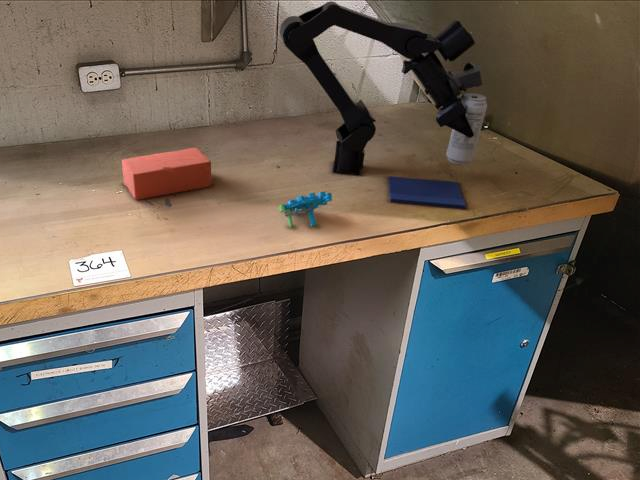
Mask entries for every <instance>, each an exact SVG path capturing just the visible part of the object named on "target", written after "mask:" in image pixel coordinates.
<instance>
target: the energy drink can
mask: <svg viewBox="0 0 640 480" xmlns="http://www.w3.org/2000/svg"><path fill="white" fill-rule="evenodd" d="M465 93H466V92H465ZM463 94H464V93H463ZM462 99H463V101H464V102H465V104H466V105H468V109H467V112H466V117H467V119H468V121H469V124H470V126H471V128H472V130H473V133H474V136H473V137H471V138H469V137H467V136H465V135H463V134H461V133H460V132H458V131H456V130H454V129H452V128H451V133H450V138H449V142H448V145H447V149H446V153H445V154H446V157H447V160H448V162H450V163H452V164H456V165H468V164H469V163H470V162H471V161H473V159H474V156H475V152H476V148H477V145H478V141H479V137H480V134H481V130H482V126H483V122H484V119H485V116H486V112H487V108H488V103H487V96H486V95H484V94H481V93H477V92H468V93H466V94H464V97H463V98H462Z"/></svg>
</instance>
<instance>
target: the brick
mask: <svg viewBox="0 0 640 480" xmlns="http://www.w3.org/2000/svg"><path fill="white" fill-rule="evenodd" d="M121 165H122V166H121V168H122V177H123V178H122V179H123V185H124V186H126V188H127V189H128V191H129V193H130V194H131V195H132V197H133V198H134V199H135V200H136V201H138V200H143V199H148V198H154V197H159V196H166V195H171V194H175V193H180V192H186V191H192V190H197V189H203V188H208V187H210V186H211V185H212V161H211V160H210V158H209V157H207V156H206V155H205V154H204V153H203V152H201V151H200V150H199V148H198V147H190V148H184V149H179V150H173V151H167V152H166V151H165V152H160V153H159V152H158V153H154V154H147V155H142V156H141V155H140V156H135V157H130V158H129V157H128V158H125V159H121Z"/></svg>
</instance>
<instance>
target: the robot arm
mask: <svg viewBox="0 0 640 480" xmlns="http://www.w3.org/2000/svg"><path fill="white" fill-rule="evenodd" d="M334 26H335V27H338V28H341V29H343V30H347V31H348V32H352V33H355V34H357V35H360V36H362V37H365V38H368V39H372V40H374V41H377V42H379V43H382V44H383V45H385V46H387V47H388V48H390V49H391V50H393V51H394V52H396V53H397V54H399V55H401V56H402V57H404V58H406V59H407V60H406V59H405V60H402V69H401V73H402V74H403V75H406V74H409V72H410V71H411V72H412V73H413V74H414V76H415V77H416V78H417V79H418V81H419V83H420V84H421V86H422V87H423V88H424V91H423V92H424V93H425V94H426V96H428V95H429V96H430V98H431V99H432V101H433V102H434V107H435V108H436V110H437V113H436V118H435V121H436V123H437V125H438V126H439V127H440V128H442V127H448V128H450V129H451V130H452V129H454V130H456V131H458V132H460V133H461V134H463V135H465V136H467V137H469V138H471V137H473V136H474V133H473V130H472V128H471V126H470V124H469V121H468V119H467V117H466V112H467V109H468V105H466V104H465V102H464V101H463V99H462V98H463V97H464V94H466V93H469V92H468V89H471V88H475V87H476V88H478V87H481V86H482V85H483V84H484V78H483V74H482V73H483V72H482V70H481V69H482V68H481V65H475V64H474V63H473V62H472V61H469V62H465V63H464V64H463V68H462V70H459V71H458V72H455V73H453V72H452V70H451V69H450V70H449V69H446V66H444V64H443V63H442V61H443V62H447V61H448V62H449V63H453V62H455V61H456V60H457V59H458V58H460V57H461V56H462V55H463V54H465V52H467V51H468V50H470V49H471V48H472V47H473V46H474V45H475V44H476V42H475V40H474V38H473V36H472V34H471V33H470V32H468V31H467V29H466V28H465V27H464V25H462V22H461V21H460V20H458V19H457V18H455V19H454V20H452V21H451V22H450V23H449V24H448V25H447V26H446V27H445V28H444V29H443V30H441V31H440V32H439V33H437V34H436V35H435V36H434V35H433V34H431V33H426V32H422V30H420V29H419V28H417V27H416V26H415V25H413V24H408V23H402V22H388V21H383V20H381V19H379V18H377V17H372V16H370V15H367V14H365V13H362V12H359V11H356V10H354V9H351V8H348V7H346V6H344V5H340V4H338V3H337V2H335V1H332V0H330V1H326V2H325V3H324V4H322V5H320V6H319V7H318V6H317V7H316V8H313V9H311V10H308V11H306V12H303V13H302V14H299V15H298V16H297V15H291V16H288V17H286V18H285V19H284V20H283V21H282V23H281V24H280V26H279V27H280V28H279V34H280V37H281V40H282V42H283V44H284V47H286V49H288V50H289V51H290V52H291V53H292V54H293V55H294V56H295V57H296V58H297V59H298V60H299V61H301V62H302V63H303V64H304V65H305V66H306V68H308V69H309V71H310V72H311V74H312V75H313V77H314V78H315V79H316V81H317V82H318V83H319V85H320V86H321V88H322V89H323V91H324V92H325V93H326V95H327V97H329V99H330V100H331V101H332V103H333V104H334V106H335V107H336V109H337V110H338V112H339V114H340V116H341V119H342V120H343V123H342V124H341V125H339V127H337V128H336V129H335V135H336V138H337V139H338V140H336V145H335V151H334V152H335V153H334V160H333V163H332V164H333V165H332V173H336V174H347V175H358V176H359V175H361V171H362V170H363V169H364V161H365V154H366V153H365V152H366V151H365V148H366V146H367V144H368V143H369V142H370V141H371V140H372V139H373V138H374V137H375V134H376V131H377V127H376V125H375V123H376V121H377V120H376V119H375V117H374V115H373V114H372V113H371V111H370V110H369V109H368V108H367V106H366V104H365V103H364V101H363V100H362V99H361V98H360V99H359V100H358V102H356V101H355V100H353V99H352V97H350V95H349V93H348V92H347V90H346V89H345V88H344V87H343V85H342V84H341V82H340V81H339V79H338V77H336V75H335V74H334V72H333V70H332V69H331V68H330V66H329V64H327V62H326V60H325V59H324V58H323V56H322V55H321V53H320V52H319V49H318V47H317V44H316V42H315V38H318V37H319V36H321V35H322V34H323V33H324V32H326V31H327V30H329V28H332V27H334ZM435 52H437V53H438V56H439V57H440V58H441V59H442V61H441V60H440V58H439V57H438V56H437V54H436V53H435ZM408 59H409V60H408ZM462 91H463V92H464V93H462Z"/></svg>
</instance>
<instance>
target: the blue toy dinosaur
mask: <svg viewBox="0 0 640 480" xmlns="http://www.w3.org/2000/svg"><path fill="white" fill-rule="evenodd" d="M332 201H333V195H332V192H327V193H326V191H319V192H318V194H317V195H316V192H310V193H308V194H307V196H304V195H298V196H297V197H296V199H289V200H288V201H287V202H288V203H282V204H281V203H280V204H279V211H280V213H283V214H284V217H287V221H288V225H289V227H290V228H291V227H294V223H293V219H292V216H297V215H302V214H308V218H309V222H310V226H311V227H314V226H317V223H316V219H315V218H316V217H315V214H314V211H315V210H316V209H319V208H320V206H326V205H328V202H332Z"/></svg>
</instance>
